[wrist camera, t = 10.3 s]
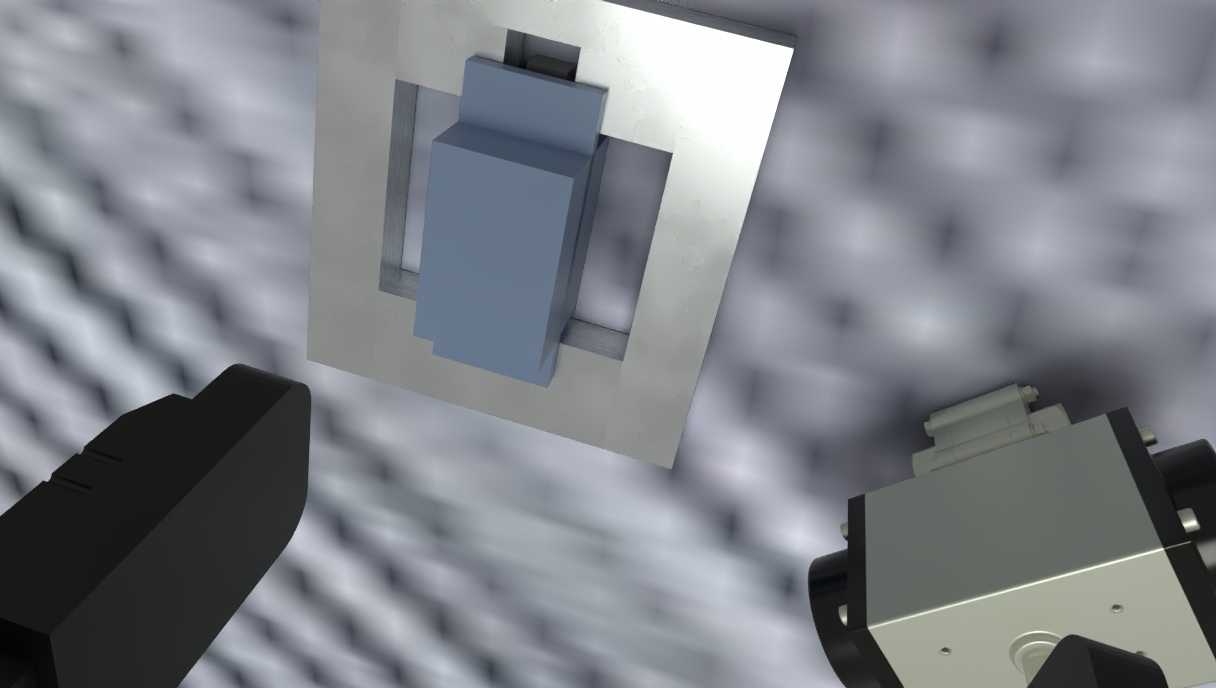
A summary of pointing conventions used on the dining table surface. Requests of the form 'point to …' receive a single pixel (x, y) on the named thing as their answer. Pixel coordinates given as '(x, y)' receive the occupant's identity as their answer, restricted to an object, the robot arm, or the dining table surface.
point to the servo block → (510, 216)
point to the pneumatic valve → (1024, 552)
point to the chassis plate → (634, 111)
